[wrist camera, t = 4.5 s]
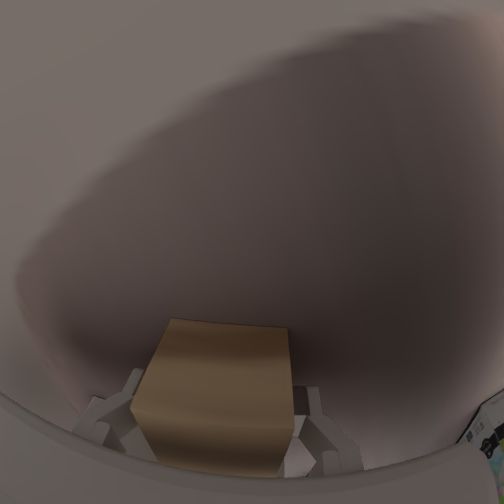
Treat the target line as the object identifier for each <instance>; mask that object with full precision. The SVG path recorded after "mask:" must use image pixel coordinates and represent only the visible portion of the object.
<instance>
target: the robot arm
mask: <svg viewBox="0 0 504 504" xmlns="http://www.w3.org/2000/svg"><path fill="white" fill-rule="evenodd" d="M145 372H146V370H143V369H139V368H134V369H133V370H132V372H131V374H130V376H129V378H128V380H127V382H126V384H125V386H124V388H123V390H122V392H118V393H116V394H114V395H112V396H111V397H109V398H107V399H105V400H104V401H102V402H100V403H98V404H97V405H95V406H93V407H91V408H89V409H88V410H86V411H84V412H82V413H81V415H80V417H79V419H78V421H77V422H76V424H75V426H74V428H73V430H72V432H69V431H67V430H65V429H63V428H61V427H59V426H57V425H55V424H53V423H51V422H49V421H47V420H46V419H44V418H42V417H40V416H38V415H37V414H35V413H33V412H32V411H30V410H28V409H27V408H25V407H23V406H22V405H20V404H19V403H17V402H15V401H14V400H12V399H11V398H9V397H8V396H7V395H5V394H4V393H2V392H1V391H0V504H499V498H498V493H497V488H496V484H495V480H494V476H493V473H492V469H491V466H490V464H489V461H488V459H487V457H486V455H485V454H484V452H482V451H481V450H479V449H478V448H476V447H474V446H473V445H471V444H469V443H467V442H460V443H456V444H454V445H452V446H449V447H447V448H444V449H441V450H438V451H436V452H433V453H430V454H427V455H424V456H421V457H417V458H414V459H410V460H407V461H403V462H399V463H396V464H391V465H387V466H383V467H378V468H373V469H368V470H364V468H363V462H362V458H361V453H360V448H359V446H358V445H357V444H356V443H355V442H354V441H353V440H352V439H351V438H349V437H348V436H347V435H346V434H345V433H344V432H343V431H342V430H341V429H340V428H339V427H338V426H337V425H336V424H335V423H334V422H333V421H332V420H331V419H330V418H329V417H328V416H327V415H323V411H322V405H321V399H320V393H319V388H318V386H292V390H293V404H294V418H295V430H294V433H293V436H299V439H300V440H301V441H302V443H303V444H304V445H305V447H306V448H307V449H308V451H309V452H310V453H311V455H312V456H313V457H314V458H315V460H316V461H317V462H316V464H315V465H314V466H313V468H312V469H311V471H310V472H309V477H293V478H264V477H244V476H232V475H222V474H214V473H206V472H200V471H194V470H188V469H183V468H178V467H173V466H169V465H164V464H160V463H156V462H152V461H148V460H145V459H141V458H138V457H134V456H131V455H128V454H125V453H126V449H125V447H124V446H123V445H122V443H121V442H120V440H121V439H122V438H123V437H124V436H126V435H127V434H128V433H129V432H131V431H132V430H133V429H134V428H136V427H137V426H138V423H137V421H136V419H135V417H134V415H133V413H132V411H131V409H130V405H131V403H132V401H133V398H134V396H135V394H136V392H137V389H138V387H139V385H140V383H141V381H142V378H143V376H144V374H145Z"/></svg>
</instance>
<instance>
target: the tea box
mask: <svg viewBox="0 0 504 504" xmlns="http://www.w3.org/2000/svg"><path fill="white" fill-rule="evenodd" d="M460 442H467V443H469V444H471V445H473V446H474V447H476V448H478V449H479V450H481V451H482V452H484V454H485V455H486V457H487V459H488V461H489V464H490V466H491V469H492V473H493V476H494V480H495V484H496V488H497V493H498V498H499V504H504V390H503V391H501V392H500V393H498V394H497V395H495V396H494V397H492V398H491V399H490V400H488V401H487V402H485V403H484V404H482V405H481V407H480V410H479V412H478V414H477V415H476V417H475V419H474V420H473V422H472V424H471V425H470V427H469V428H468V429H467V431H466V432H465V434H464V435H463V437H462V438H461V439H460V441H459V442H458V443H460Z"/></svg>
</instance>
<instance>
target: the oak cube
mask: <svg viewBox="0 0 504 504" xmlns="http://www.w3.org/2000/svg"><path fill="white" fill-rule="evenodd" d="M130 409H131V411H132V413H133V415H134V417H135V419H136V421H137V423H138V425H139V427H140V429H141V431H142V433H143V435H144V437H145V439H146V440H147V442H148V444H149V446H150V448H151V449H152V451H153V453H154V455H155V456H156V458H157V460H158V461H159V463H160V464H164V465H169V466H173V467H178V468H183V469H188V470H194V471H200V472H206V473H214V474H222V475H232V476H244V477H264V478H276V476H277V473H278V471H279V468H280V466H281V464H282V461H283V459H284V456H285V454H286V451H287V449H288V446H289V444H290V441H291V438H292V436H293V433H294V430H295V418H294V404H293V390H292V377H291V365H290V353H289V342H288V331H287V328H278V327H261V326H246V325H234V324H222V323H212V322H202V321H193V320H184V319H176V318H171V320H170V322H169V324H168V326H167V328H166V330H165V332H164V334H163V336H162V338H161V340H160V343H159V345H158V347H157V349H156V351H155V353H154V355H153V357H152V359H151V361H150V363H149V366H148V368H147V370H146V372H145V374H144V376H143V378H142V381H141V383H140V385H139V387H138V389H137V392H136V394H135V396H134V398H133V401H132V403H131V405H130Z"/></svg>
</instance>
